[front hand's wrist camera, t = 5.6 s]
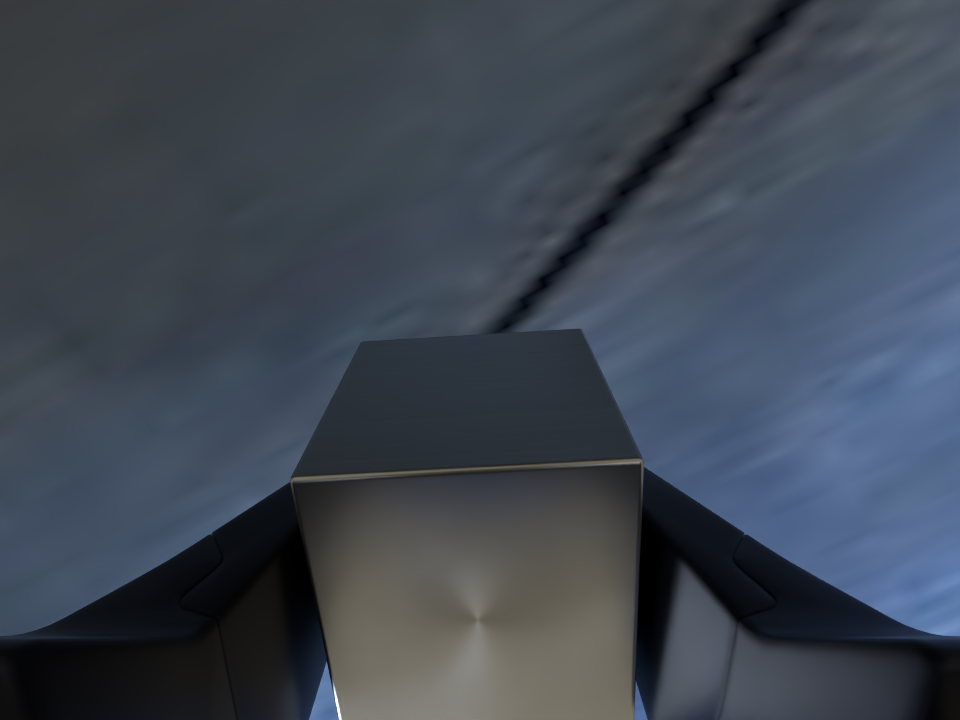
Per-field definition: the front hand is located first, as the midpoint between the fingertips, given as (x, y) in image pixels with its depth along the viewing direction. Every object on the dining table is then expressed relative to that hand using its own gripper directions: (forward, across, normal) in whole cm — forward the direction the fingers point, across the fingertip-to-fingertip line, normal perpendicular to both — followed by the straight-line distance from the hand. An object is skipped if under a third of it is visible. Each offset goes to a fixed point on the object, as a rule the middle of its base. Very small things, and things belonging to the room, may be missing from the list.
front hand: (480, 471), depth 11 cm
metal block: (+1, 0, 0) cm, 1 cm away
